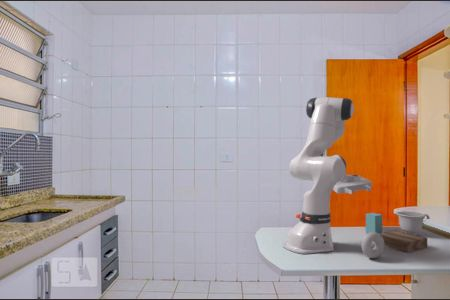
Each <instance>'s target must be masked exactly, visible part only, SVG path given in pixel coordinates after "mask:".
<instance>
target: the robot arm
mask: <svg viewBox="0 0 450 300" xmlns="http://www.w3.org/2000/svg"><path fill="white" fill-rule="evenodd" d="M305 106H306V107H305V112H306V116H307V117H308V118H309V119H310V123H309V129H308V133H307V138H306V142H305V144H304V145H303V147H302V149H301V151H300V152H299V153H298V154H297V155H296V156H295V157H293V158H292V159H291V161H290V162H289V165H288V170H289V174H290V175H291V177H293V178H295V179H298V180H301V181H313V183H312V184H313V185H312V188H311V189H308V190H307V191H305V192H304V193H303V196H302V205H303V206H302V212H301V213H299V212H297V213H295V218H297V219H299V221H298V223H296V224H295V226H293V227H291V229H290V230H289V231H288V232H287V233H288V235H287V241H283V242H282V243H281V245H282V247H283V248H284V249H286V250H288V251H290V252H293V253H295V254H301V255H307V254H314V253H315V254H316V253H325V252H334V250H335V249H334V248H335V245H334V241H333V238H332V229H331V219H332V218H331V217H332V216H331V212H330V205H331V204H330V201H331V194H332V191H334V192H335V193H336V194H346V193H347V194H349V195H353V194H355V192H359V191H363V190H365V192H371V190H372V185H373V184H372V183H373V182H372V181H371V180H369V179H367V178H365V177H362V176H361V175H359V174H349V173H348V174H347V173H346V172H347V162H346V160H345V158H343V157H342V156H341V155H339V154H334V155H331V156H327V155H325V154H326V151H327V150H328V149H330V148H331V147H333V144H334V143H335V142H337V141H338V140H339V139H341V138H342V136H343V135H344V133H345V125H346V124H345V121H348V120H350V119H351V118H352V117H353V115H354V111H355V106H354V102H353V101H352V99H349V98H347V97H346V98H345V97H342V98H341V97H330V96H329V97H328V96H325V97H311V98H310V99H309V100H307V103H306V105H305Z"/></svg>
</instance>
